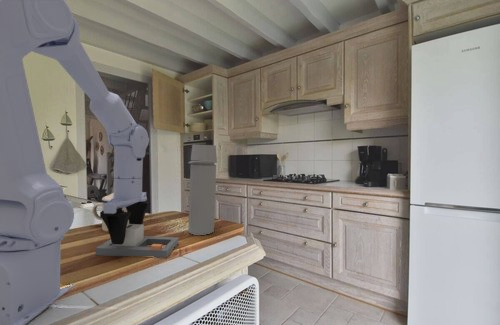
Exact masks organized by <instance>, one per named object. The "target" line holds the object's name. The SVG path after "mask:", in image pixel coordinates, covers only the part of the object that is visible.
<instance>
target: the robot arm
mask: <svg viewBox="0 0 500 325" xmlns="http://www.w3.org/2000/svg"><path fill="white" fill-rule="evenodd" d="M80 30H81V27H80V24H79V23H78V21H77V19H76V18H75V17H74V16H73V13H72V11H71V9H70V7H69V5H68V3H67V1H66V0H0V325H27V324H29V322H30V321H31V320H33V319H35V317H37V316H38V315H40V314H41V313H42V312H43V311H45V310H46V309H47V308H49V307H50V306H52V303H53V302H55V301H57V300H58V299H59V298H60V297H61V296H63V295H64V294H66V293H67V292H68V291H70V290H71V289H73V288H74V287H75V284H74V285H72V286H69V287H68V286H67V287H68V288H67V287H65V288H62V289H60V283H61V255H62V254H61V252H62V251H61V248H62V246H61V242H62V240H65V235H66V234H67V233H68V231H69V230H70V228H71V227H72V225H73V224H74V218H75V212H74V208H73V206H72V204H71V203H70V202H69V200H68V199H66V197H65V194H64V189H63V187H62V186H61V185H60V183H58V182H57V181H56V180H55V179H53V178H52V177H51V175H50V174H48V173H47V168H46V164H45V160H44V155H43V151H42V150H43V149H42V144H41V140H40V135H39V133H38V127H37V122H36V118H35V117H36V116H35V113H34V108H33V104H32V99H31V95H30V90H29V84H28V81H27V76H26V71H25V66H24V62H23V59H24V57H26V56H28V55H29V54H30V53H32V52H33V53H35V54H38V55H42V56H45V57H47V58H49V59H52V60H53V59H54V60H55V61H57V62H58V63H59V65H60V66H61V67H62V68H63V69H64V70H65V72H66V73H67V74H68V75H69V76H70V78H72V80H74V82H75V83H76V84H77V85H78V87H79V88H81V90H82V91H83V92H84V93H85V94H86V96H87V97H88V98H89V99H90V100H89V101H90V102H89V110H90V111H91V113H92V114H93V115H94V116H95V117H96V119H97V120H98V121H99V123H100V124H101V125H102V126H103V128H104V130H105V133H106V135H107V136H106V137H107V142H108V145H109V146H111V147H112V148H113V149H114V150H113V151H114V153H113V154H114V156H113V193H114V195H113V198H112V199H111V200H110V201H109V202H107V203H104V211H100V212H99V216H100V217H101V218H102V219H103V221H104V222H105V224H106V226H107V228H108V231H107V232H108V234H109V237H110V239H111V241H112V244H119V245H121V244H123V243H124V240H125V233H126V227H127V223H128V220H129V224H143V222H144V219H145V216H146V213H147V211H148V209H149V207H150V205H151V201H150V200H149V201H148V197H147V191H145V192H144V191H143V166H144V165H143V164H144V163H143V162H144V158H145V156H146V150H147V147H148V146H149V143H150V137H149V133H148V132H147V129H146V128H145V127H143V126H142V125H140V124H137V122H136V121H135V119H134V118H133V116H132V114H131V113H130V111H129V109H128V108H127V106H126V105H125V103H124V102H123V99H122V98H121V97H120V96H119V94H116V93H114V92H111V91H109V89H108V88H107V86H106V85H105V83H104V82H103V79H102V78H101V75H100V74H99V73H98V71H97V69H96V67H95V65H94V63H93V61H92V60H91V58H90V57H89V55H88V53H87V51H86V49H85V48H84V46H83V44H82V41H81V39H80V37H81V33H80V32H81V31H80ZM125 207H126V209H127V212H124V210H123V211H122V208H125Z"/></svg>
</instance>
